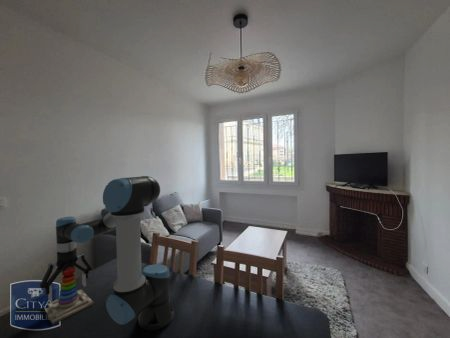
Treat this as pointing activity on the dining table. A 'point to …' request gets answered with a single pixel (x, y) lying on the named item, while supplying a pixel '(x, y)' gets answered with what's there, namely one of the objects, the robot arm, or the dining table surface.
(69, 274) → the stacking toy
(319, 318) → the dining table surface
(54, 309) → the rectangular beige tray
